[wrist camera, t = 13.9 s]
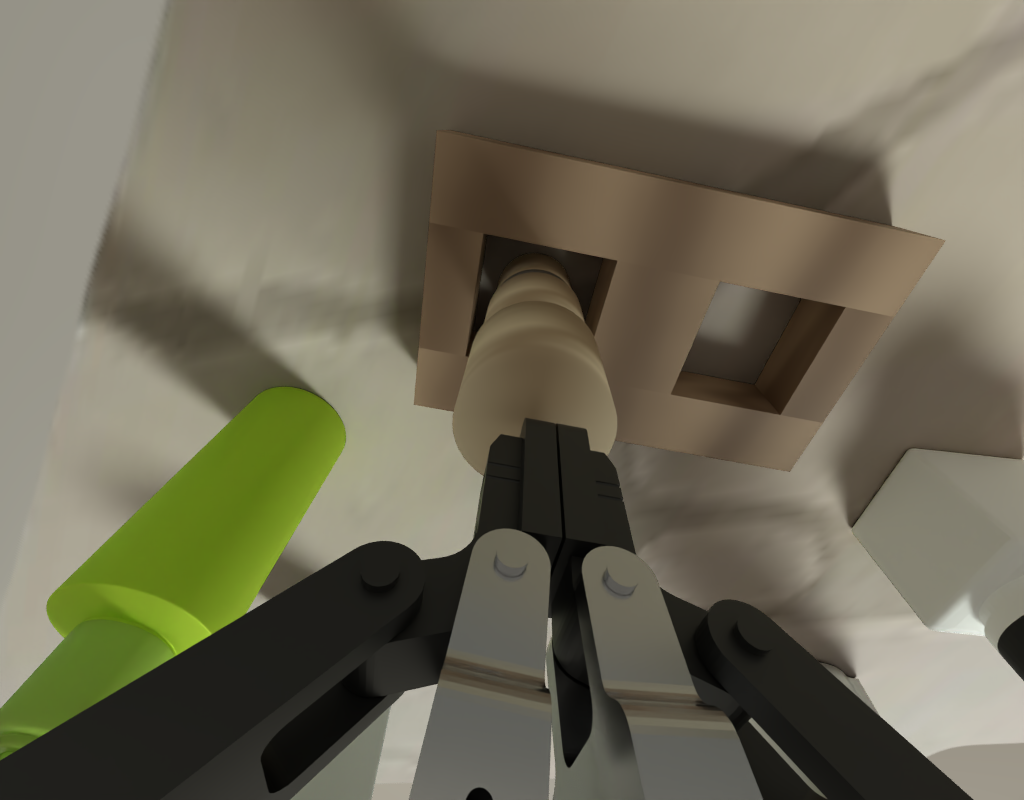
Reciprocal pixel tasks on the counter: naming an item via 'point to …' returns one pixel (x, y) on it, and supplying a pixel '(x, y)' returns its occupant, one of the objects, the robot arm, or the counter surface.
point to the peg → (532, 364)
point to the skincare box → (350, 768)
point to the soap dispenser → (181, 560)
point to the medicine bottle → (954, 543)
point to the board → (667, 290)
